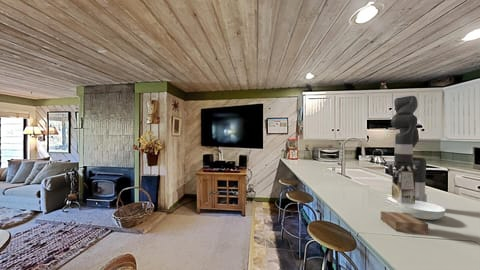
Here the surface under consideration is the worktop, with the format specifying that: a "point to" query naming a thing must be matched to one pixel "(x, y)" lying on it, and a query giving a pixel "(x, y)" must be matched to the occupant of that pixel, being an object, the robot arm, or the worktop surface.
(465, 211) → the worktop surface
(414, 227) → the walnut block
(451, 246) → the worktop surface
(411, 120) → the robot arm
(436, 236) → the worktop surface
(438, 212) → the serving bowl
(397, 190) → the coffee box
